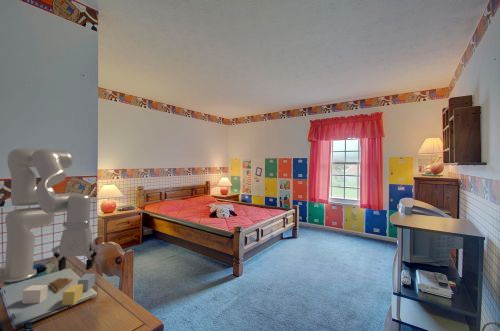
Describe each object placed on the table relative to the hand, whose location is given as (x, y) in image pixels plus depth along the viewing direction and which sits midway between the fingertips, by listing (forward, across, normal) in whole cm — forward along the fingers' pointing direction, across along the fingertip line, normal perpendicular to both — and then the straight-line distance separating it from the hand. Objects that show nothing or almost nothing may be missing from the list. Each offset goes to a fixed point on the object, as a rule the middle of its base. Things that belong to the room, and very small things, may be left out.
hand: (75, 269), depth 93 cm
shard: (+13, -12, +14) cm, 22 cm away
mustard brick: (+13, -1, 0) cm, 13 cm away
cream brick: (+12, -15, +2) cm, 19 cm away
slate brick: (+12, -1, +10) cm, 16 cm away
